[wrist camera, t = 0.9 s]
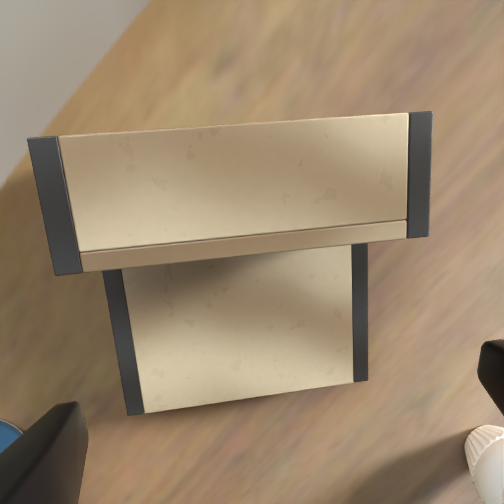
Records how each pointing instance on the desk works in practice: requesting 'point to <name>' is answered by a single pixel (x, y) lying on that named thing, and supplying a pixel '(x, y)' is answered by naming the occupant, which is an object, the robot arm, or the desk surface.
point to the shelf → (235, 246)
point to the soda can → (8, 434)
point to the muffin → (487, 462)
